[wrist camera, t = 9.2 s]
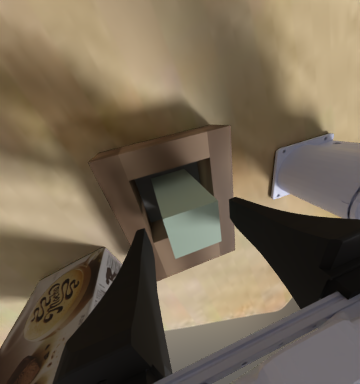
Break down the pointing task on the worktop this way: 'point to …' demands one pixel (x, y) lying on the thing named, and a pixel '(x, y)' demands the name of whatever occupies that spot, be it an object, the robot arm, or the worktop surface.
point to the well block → (160, 165)
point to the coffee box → (54, 318)
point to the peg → (187, 212)
